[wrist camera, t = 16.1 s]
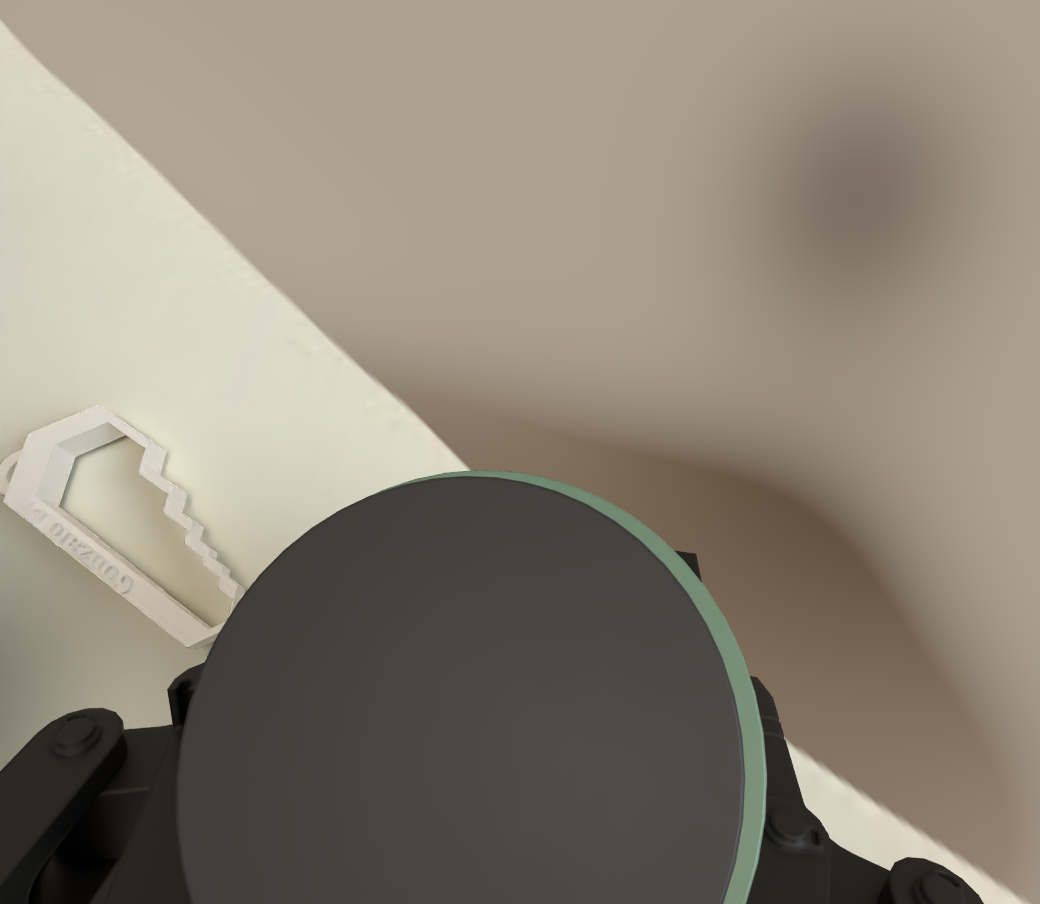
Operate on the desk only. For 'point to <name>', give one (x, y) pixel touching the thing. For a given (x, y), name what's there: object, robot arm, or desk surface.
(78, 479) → the desk surface
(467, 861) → the bottle
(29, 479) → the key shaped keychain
